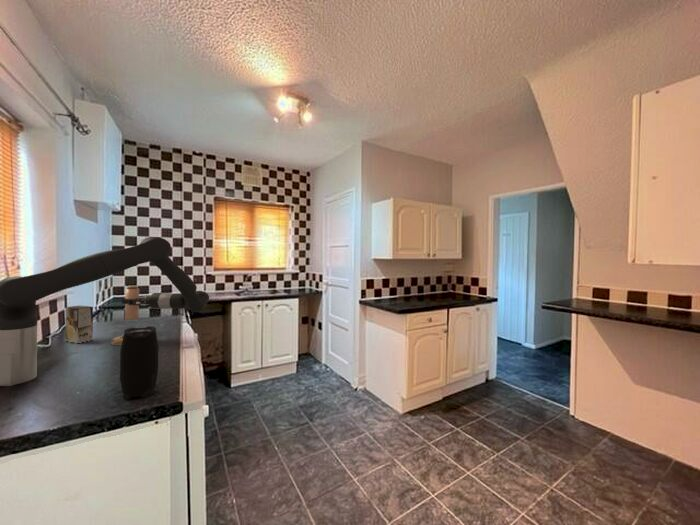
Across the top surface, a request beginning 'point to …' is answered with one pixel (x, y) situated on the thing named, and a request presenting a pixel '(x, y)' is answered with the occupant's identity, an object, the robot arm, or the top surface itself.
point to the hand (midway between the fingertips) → (126, 300)
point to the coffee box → (79, 324)
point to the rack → (117, 340)
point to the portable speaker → (139, 362)
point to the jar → (131, 310)
